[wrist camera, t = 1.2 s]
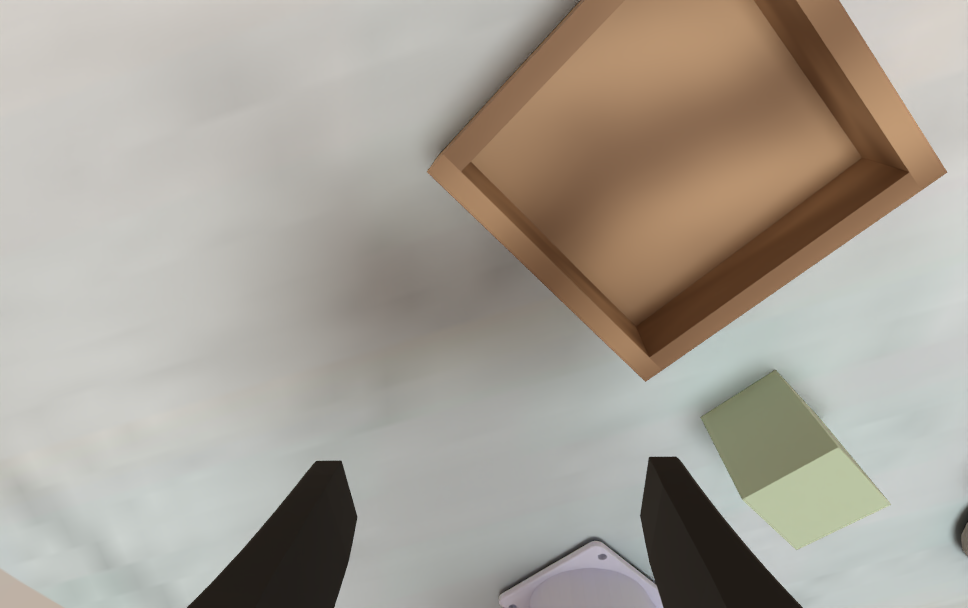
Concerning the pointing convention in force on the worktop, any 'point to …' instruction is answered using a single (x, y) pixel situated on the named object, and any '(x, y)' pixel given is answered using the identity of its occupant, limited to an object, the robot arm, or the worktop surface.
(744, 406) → the sage block
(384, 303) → the worktop surface
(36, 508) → the worktop surface
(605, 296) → the walnut tray
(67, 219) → the worktop surface
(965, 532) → the pocket watch
